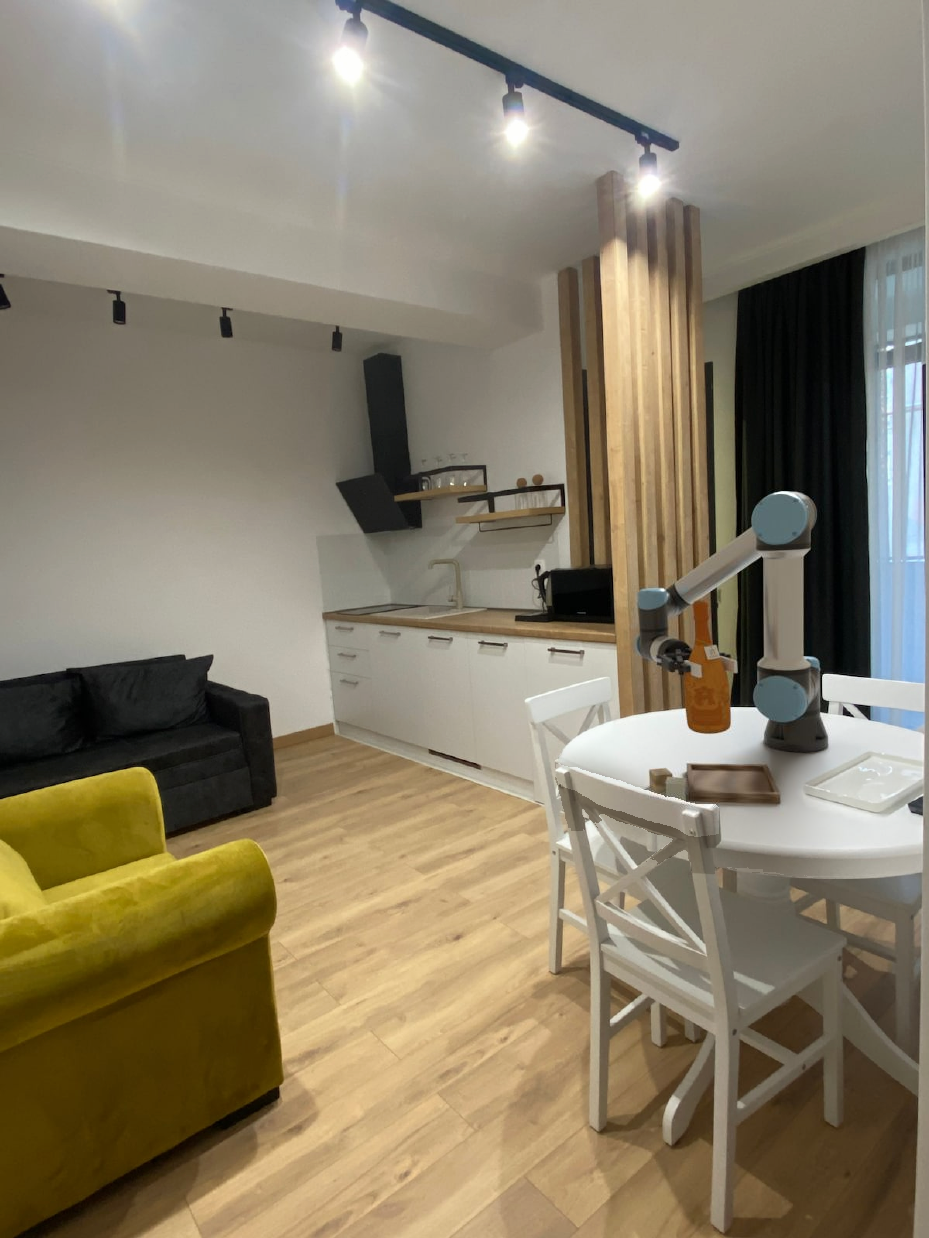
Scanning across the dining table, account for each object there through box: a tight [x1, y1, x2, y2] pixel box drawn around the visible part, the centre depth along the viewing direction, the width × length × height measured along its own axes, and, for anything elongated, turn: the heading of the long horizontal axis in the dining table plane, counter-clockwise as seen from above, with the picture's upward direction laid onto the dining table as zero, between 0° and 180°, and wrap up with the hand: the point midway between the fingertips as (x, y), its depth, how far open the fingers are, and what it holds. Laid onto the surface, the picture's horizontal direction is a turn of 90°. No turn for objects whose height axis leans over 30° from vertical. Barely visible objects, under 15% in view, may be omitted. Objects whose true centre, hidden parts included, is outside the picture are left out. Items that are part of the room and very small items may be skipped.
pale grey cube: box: [665, 776, 688, 802], centre depth 151 cm, size 4×4×4 cm
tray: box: [685, 762, 782, 804], centre depth 155 cm, size 18×18×2 cm
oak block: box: [648, 767, 674, 793], centre depth 157 cm, size 4×4×4 cm
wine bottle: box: [683, 599, 732, 735], centre depth 157 cm, size 10×10×30 cm
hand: (717, 669), depth 152 cm, fingers closed on wine bottle, 8 cm apart
